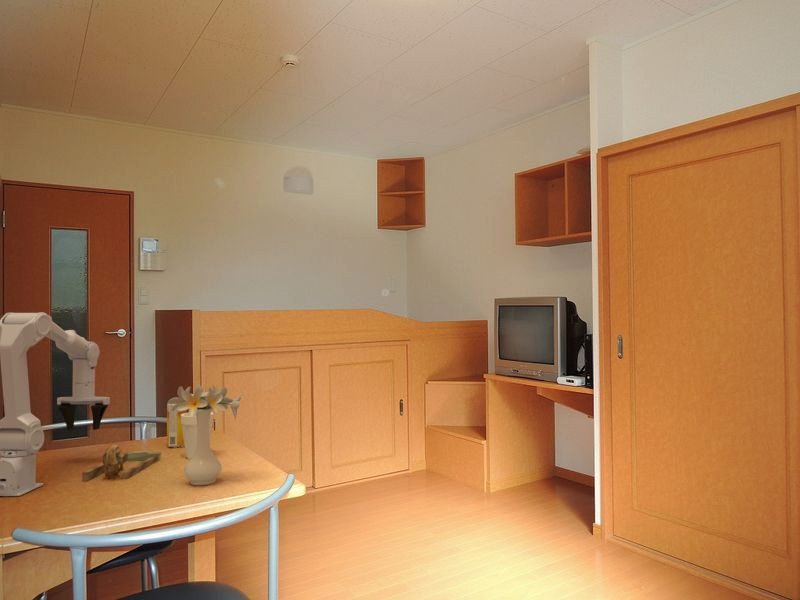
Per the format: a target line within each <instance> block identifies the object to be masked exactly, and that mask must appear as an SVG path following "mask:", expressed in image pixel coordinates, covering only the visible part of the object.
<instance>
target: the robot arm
mask: <svg viewBox="0 0 800 600" xmlns="http://www.w3.org/2000/svg"><path fill="white" fill-rule="evenodd" d="M45 337H46V338H48V339H50V340H51V341H54V342H55V345H56V346H55V347H56V348H58V349H59V350H60V351H62V352H64V353H66V354H67V356H68V359H69V360H70V361H72V396H60V397H57V399H56V401H57V402H56V404H57V405H58V410H59V412H60V413H61V415H62V417H63V420H64V423H65V426H66V430H68V431H69V430H72V429H74V428H75V412H76V408H77V405H90V409H91V414H92V415H91V416H92V429H93V430H98V429H100V426H101V421H102V419H103V416H104V414H105V412H106V410H107V409H108V407H109V405H110V404H111V401H110V400H111V398H110V397H109V396H98V395H97V396H96V395H95V394H96V393H95V390H96V387H95V386H96V383H95V382H96V367H97V365H98V359H99V357H100V353H101V350H100V348H99V345H98V344H97V343H96V342H94V341H88V340H87V339H86V338H85V337H83V336H80V334H79V335H78V334H77V331H76V330H74V329H69V330H64V329H62V327H60V326H59V325H57V324H56V323H55V322H54V321H53V317H52V316H50V315H49V314H47V313H46V312H40V311H39V312H6V313H4V315H3V316H2V317H1V318H0V370H1V371H0V373H1V384H2V397H3V398H2V399H3V406H4V407H3V411H4V417H2V418H1V419H0V497H20V496H22V495H24V494H27V493H29V492H31V491H33V490H36V489H38V488H39V487H42V486H44V483H43V482H36V475H37V473H36V472H37V469H36V468H37V467H36V466H37V463H36V461H37V460H36V459H37V456H36V455H37V453H39V451H40V449H41V448H42V447H43V445H44V442H45V433H44V430H43V427H42V425H41V420H40V419H39V418H38V417H37V416H35V415H34V414H32V412H31V400H30V399H31V398H30V397H31V395H30V384H29V383H30V382H29V372H28V358H27V352H28V350H29V349H30V348H31V347H34V346H36V344H38V343H39V342H40V341H42V340H43V339H44V338H45ZM59 405H60V406H59Z"/></svg>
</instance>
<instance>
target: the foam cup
mask: <svg viewBox="0 0 800 600" xmlns="http://www.w3.org/2000/svg"><path fill="white" fill-rule="evenodd" d="M213 412H214V411H213ZM213 412H212V411H211V414H210V421H209V439H210V440H211V437H212V432H213V431H212V430H213V422H215V421H214V418H215V417H214V414H215V412H214V413H213ZM181 424H182V430H183V438H184V453H185V457H187V458H192V456H193V454H194V452H195V449H196V443H197V419H196V415H195V416H194V417H190V415H189V411H187V413H184V414H181ZM187 458H186V459H187Z"/></svg>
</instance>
